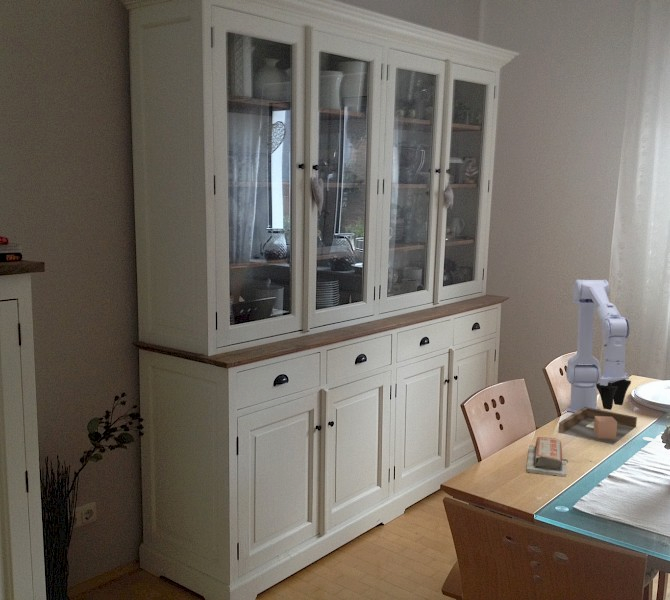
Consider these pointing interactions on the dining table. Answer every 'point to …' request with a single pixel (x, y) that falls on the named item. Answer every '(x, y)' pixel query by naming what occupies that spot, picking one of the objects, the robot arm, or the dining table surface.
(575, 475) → the dining table surface
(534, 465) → the packaged product
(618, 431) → the tray
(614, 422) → the cube
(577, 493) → the dining table surface
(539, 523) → the dining table surface
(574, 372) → the robot arm
